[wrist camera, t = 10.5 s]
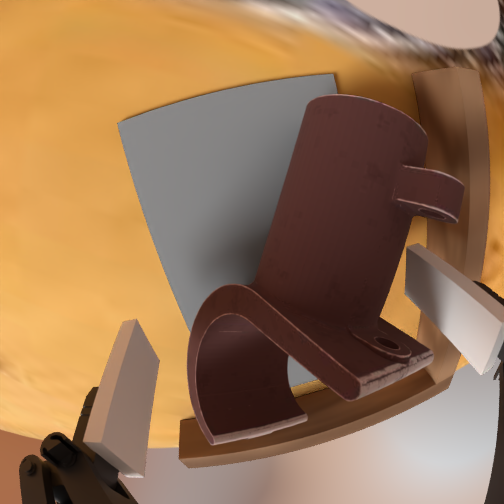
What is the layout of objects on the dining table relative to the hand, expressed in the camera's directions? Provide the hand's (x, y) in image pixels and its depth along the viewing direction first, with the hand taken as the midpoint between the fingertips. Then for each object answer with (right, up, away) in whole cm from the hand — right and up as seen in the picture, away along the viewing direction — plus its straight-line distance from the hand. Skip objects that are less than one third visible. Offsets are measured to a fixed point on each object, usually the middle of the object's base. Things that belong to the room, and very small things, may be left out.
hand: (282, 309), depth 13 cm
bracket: (+1, +2, +4) cm, 4 cm away
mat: (0, +1, +4) cm, 4 cm away
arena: (+2, 0, +4) cm, 5 cm away
